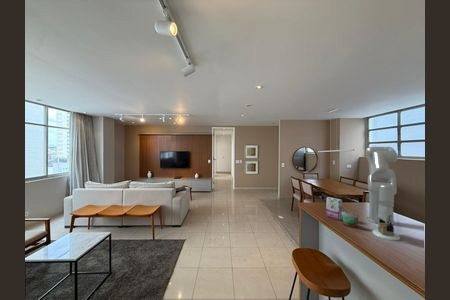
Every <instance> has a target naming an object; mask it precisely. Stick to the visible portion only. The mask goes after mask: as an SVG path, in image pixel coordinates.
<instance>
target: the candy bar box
mask: <svg viewBox="0 0 450 300" xmlns="http://www.w3.org/2000/svg"><path fill="white" fill-rule="evenodd" d="M325 203H326V204H325V216H326V217H327V216H328V217H327V218H330V217H331V218H330V219H333V218H334V219H333V220H337V221H343V215H342V214H341V213H342V210H343V199H341V198H336V197H332V196H331V197H330V196H328V197H326V198H325Z"/></svg>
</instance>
